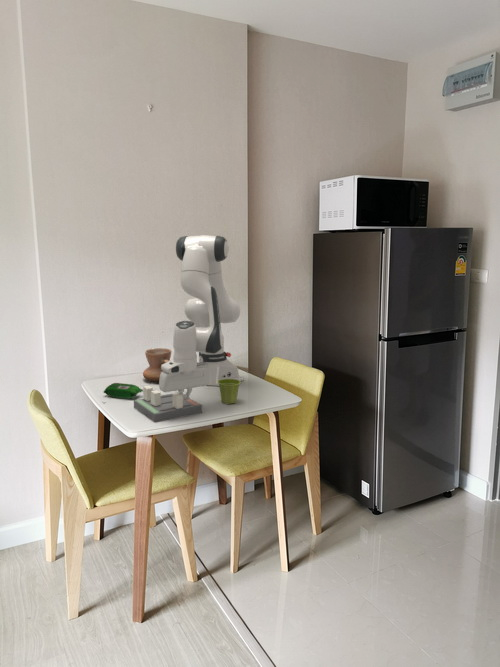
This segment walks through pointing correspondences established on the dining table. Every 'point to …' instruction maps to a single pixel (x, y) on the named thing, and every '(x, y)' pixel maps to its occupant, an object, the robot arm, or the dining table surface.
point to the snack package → (122, 390)
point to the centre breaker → (155, 398)
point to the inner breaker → (147, 393)
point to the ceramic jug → (156, 362)
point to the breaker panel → (167, 408)
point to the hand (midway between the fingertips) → (185, 399)
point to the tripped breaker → (177, 400)
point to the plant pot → (229, 390)
